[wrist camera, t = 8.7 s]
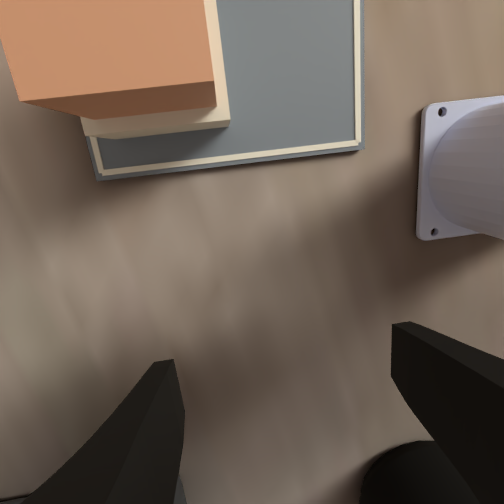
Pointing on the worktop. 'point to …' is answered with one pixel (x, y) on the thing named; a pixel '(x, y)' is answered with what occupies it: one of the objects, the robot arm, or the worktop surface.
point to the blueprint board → (253, 94)
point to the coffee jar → (415, 478)
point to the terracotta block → (109, 55)
